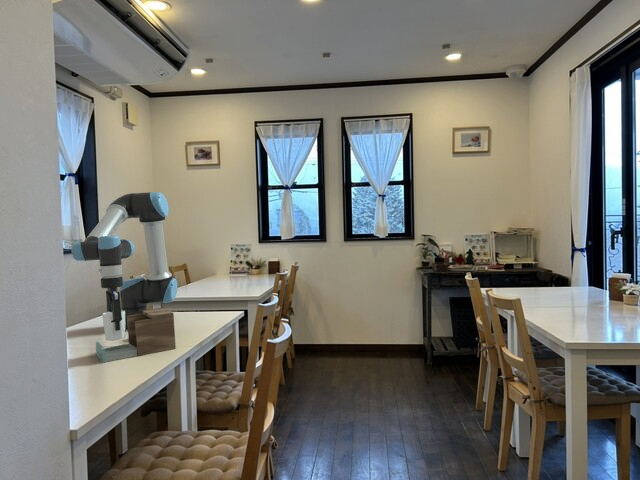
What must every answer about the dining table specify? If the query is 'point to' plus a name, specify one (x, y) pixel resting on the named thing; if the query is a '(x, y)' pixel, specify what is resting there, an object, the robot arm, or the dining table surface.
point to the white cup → (109, 326)
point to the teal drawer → (115, 352)
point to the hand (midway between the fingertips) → (115, 336)
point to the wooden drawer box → (152, 331)
